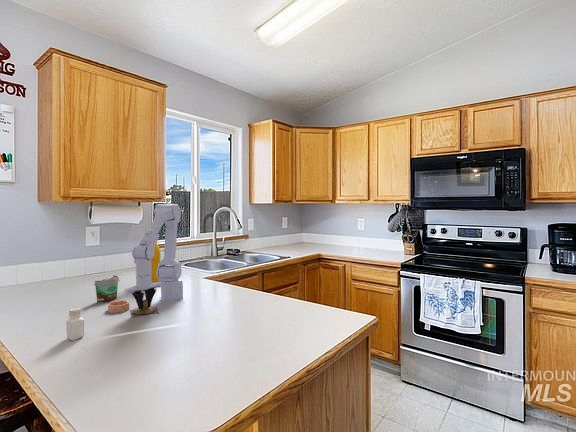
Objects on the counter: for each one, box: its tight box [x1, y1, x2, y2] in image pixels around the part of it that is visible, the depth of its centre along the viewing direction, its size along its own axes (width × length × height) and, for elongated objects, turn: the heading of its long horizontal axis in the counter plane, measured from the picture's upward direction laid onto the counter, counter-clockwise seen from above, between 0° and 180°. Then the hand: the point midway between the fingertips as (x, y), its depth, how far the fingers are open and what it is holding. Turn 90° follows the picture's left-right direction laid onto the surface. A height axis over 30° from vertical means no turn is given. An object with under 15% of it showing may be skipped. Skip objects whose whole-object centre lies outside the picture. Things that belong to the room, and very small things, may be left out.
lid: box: [132, 298, 157, 315], centre depth 131 cm, size 9×9×4 cm
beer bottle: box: [151, 241, 162, 283], centre depth 179 cm, size 9×9×29 cm
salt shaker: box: [66, 307, 85, 341], centre depth 106 cm, size 4×4×10 cm
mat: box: [129, 306, 160, 318], centre depth 131 cm, size 10×10×1 cm
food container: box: [93, 275, 120, 303], centre depth 150 cm, size 12×6×10 cm, turn 168°
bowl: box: [107, 299, 130, 314], centre depth 134 cm, size 8×8×3 cm
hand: (144, 308), depth 131 cm, fingers closed on lid, 3 cm apart
